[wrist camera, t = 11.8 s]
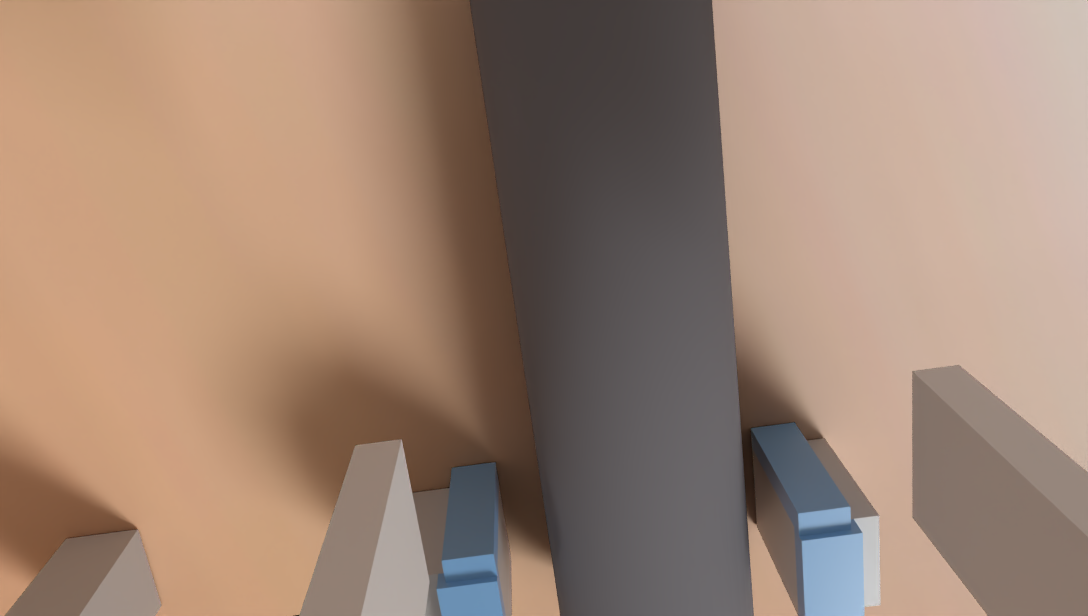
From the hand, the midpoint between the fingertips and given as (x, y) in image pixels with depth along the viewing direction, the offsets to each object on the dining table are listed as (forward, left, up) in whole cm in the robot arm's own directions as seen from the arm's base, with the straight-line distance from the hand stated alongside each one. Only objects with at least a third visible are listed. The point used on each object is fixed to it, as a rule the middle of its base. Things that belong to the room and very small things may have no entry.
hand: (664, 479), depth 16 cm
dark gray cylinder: (-1, 0, -9) cm, 9 cm away
